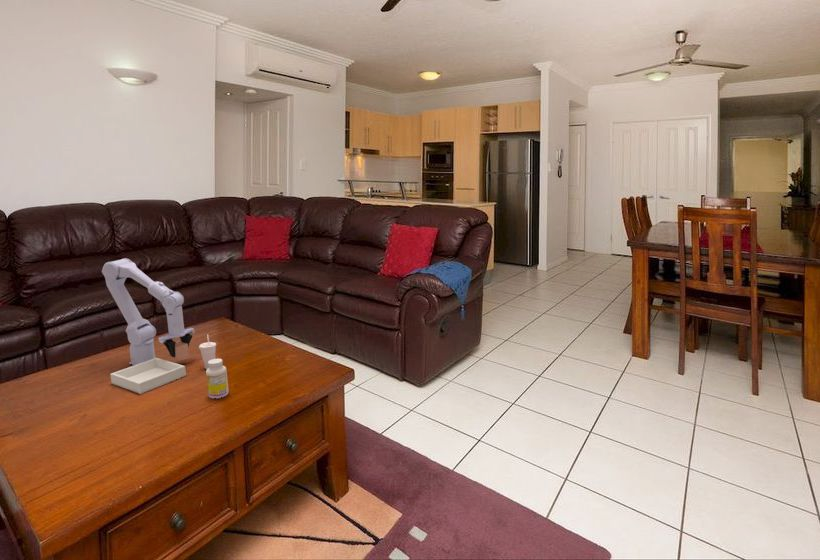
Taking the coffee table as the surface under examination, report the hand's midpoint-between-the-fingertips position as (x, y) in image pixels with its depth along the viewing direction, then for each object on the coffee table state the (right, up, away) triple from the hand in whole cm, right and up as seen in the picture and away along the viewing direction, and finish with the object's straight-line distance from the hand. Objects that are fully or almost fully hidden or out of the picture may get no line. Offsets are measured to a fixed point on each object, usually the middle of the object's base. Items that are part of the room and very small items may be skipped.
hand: (179, 354), depth 187 cm
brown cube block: (0, -2, 0) cm, 2 cm away
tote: (-5, -8, -13) cm, 16 cm away
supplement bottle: (+27, -10, -26) cm, 39 cm away
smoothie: (+13, -5, -2) cm, 14 cm away
